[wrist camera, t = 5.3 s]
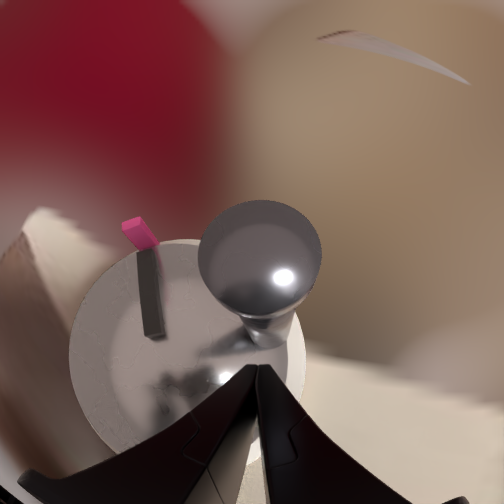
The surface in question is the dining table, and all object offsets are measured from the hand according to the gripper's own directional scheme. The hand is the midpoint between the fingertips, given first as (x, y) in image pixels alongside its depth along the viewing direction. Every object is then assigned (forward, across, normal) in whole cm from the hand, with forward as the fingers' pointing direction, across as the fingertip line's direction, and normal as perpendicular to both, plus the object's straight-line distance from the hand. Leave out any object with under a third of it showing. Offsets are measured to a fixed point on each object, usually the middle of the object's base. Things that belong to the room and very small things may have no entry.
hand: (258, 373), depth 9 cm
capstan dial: (+4, -5, -3) cm, 7 cm away
